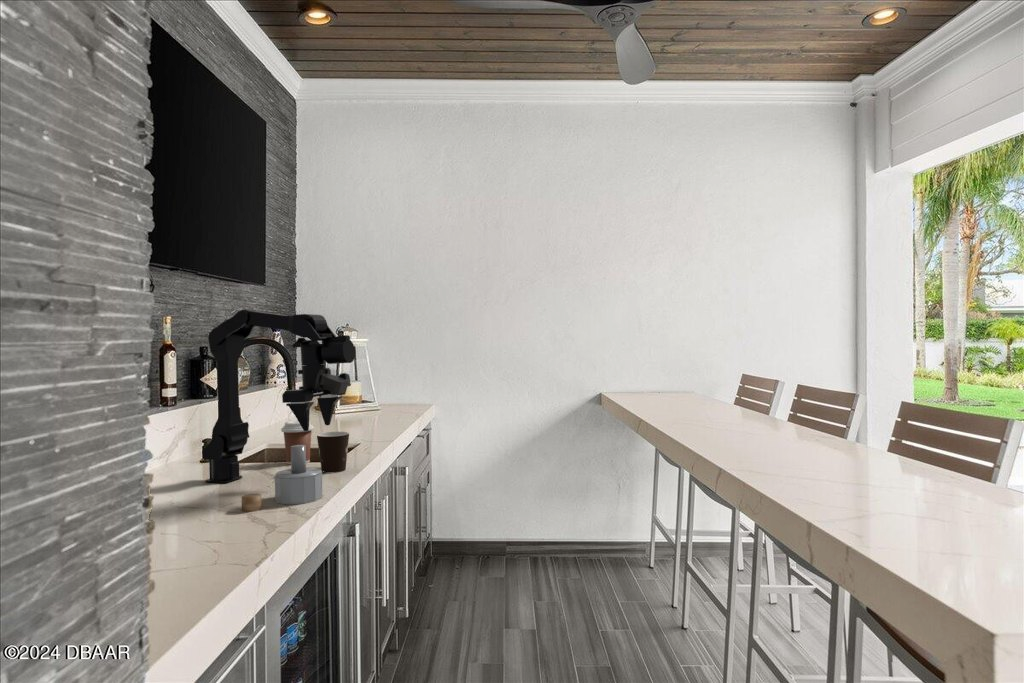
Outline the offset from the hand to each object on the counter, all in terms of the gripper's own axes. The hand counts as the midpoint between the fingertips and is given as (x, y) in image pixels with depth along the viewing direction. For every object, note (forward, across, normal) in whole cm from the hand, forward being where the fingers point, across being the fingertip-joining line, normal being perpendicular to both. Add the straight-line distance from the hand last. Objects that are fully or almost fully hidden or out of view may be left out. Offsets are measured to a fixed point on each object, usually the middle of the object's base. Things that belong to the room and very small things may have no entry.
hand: (317, 428), depth 154 cm
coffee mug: (+14, +18, +7) cm, 24 cm away
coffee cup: (+14, +24, +23) cm, 36 cm away
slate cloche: (+14, -11, -2) cm, 18 cm away
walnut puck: (+14, -21, +3) cm, 26 cm away
